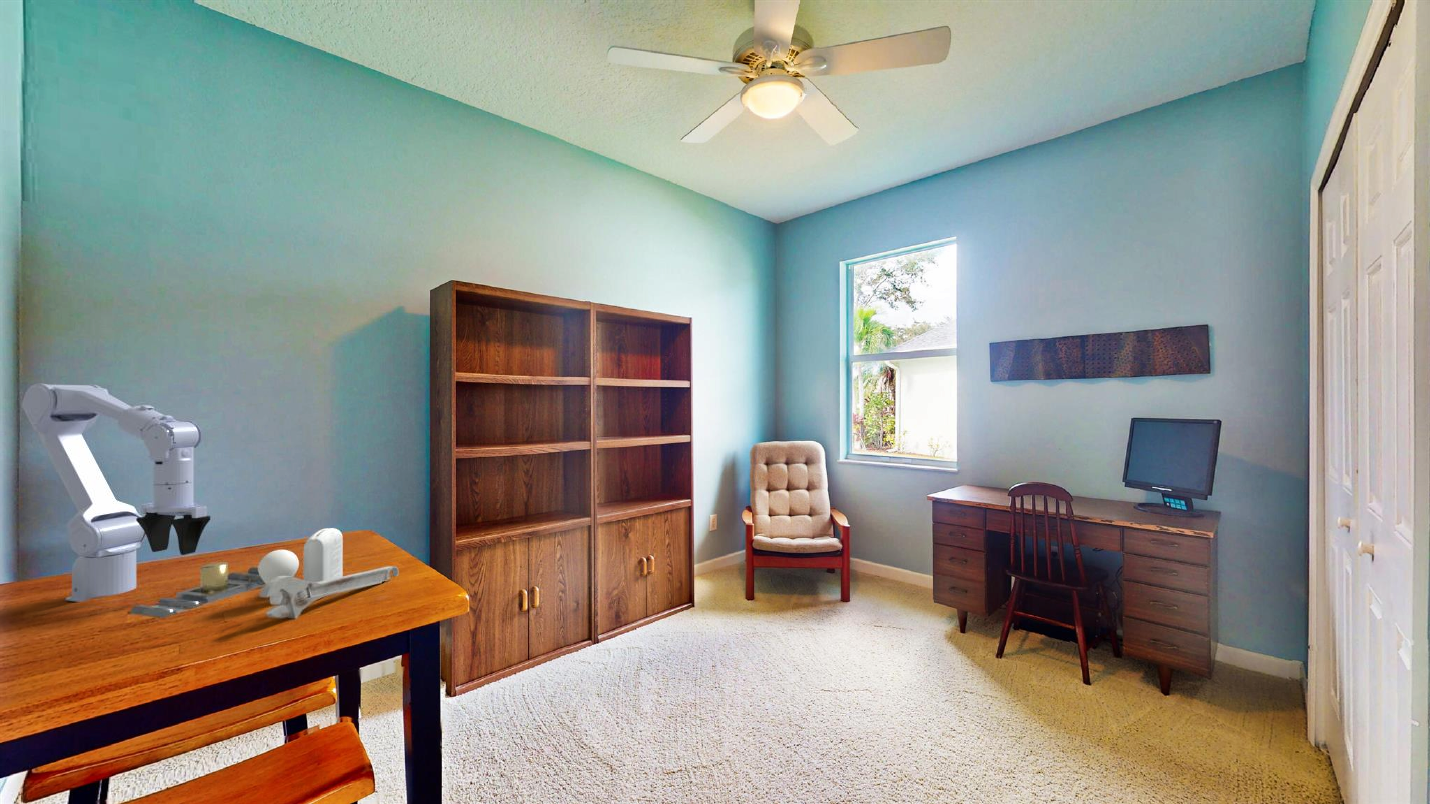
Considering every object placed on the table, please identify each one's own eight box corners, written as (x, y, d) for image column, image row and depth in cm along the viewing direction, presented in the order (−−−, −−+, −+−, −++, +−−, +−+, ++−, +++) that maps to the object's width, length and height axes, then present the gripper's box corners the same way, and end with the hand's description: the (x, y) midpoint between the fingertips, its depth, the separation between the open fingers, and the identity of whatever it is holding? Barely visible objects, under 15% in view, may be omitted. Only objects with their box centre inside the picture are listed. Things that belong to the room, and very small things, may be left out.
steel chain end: (128, 619, 101) (128, 607, 101) (221, 591, 116) (221, 581, 116) (162, 624, 99) (162, 612, 99) (253, 595, 114) (253, 584, 114)
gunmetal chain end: (175, 605, 108) (175, 588, 108) (258, 580, 123) (257, 565, 123) (208, 609, 106) (208, 592, 106) (288, 584, 121) (288, 568, 121)
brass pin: (195, 603, 109) (195, 567, 109) (219, 596, 113) (219, 561, 113) (209, 605, 108) (209, 569, 108) (232, 598, 112) (232, 563, 112)
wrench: (397, 591, 125) (263, 628, 96) (390, 590, 126) (254, 627, 96) (400, 554, 126) (268, 580, 97) (393, 553, 126) (260, 579, 97)
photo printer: (323, 581, 122) (323, 524, 122) (345, 580, 123) (345, 523, 123) (299, 597, 112) (299, 535, 112) (323, 596, 113) (324, 534, 113)
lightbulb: (255, 608, 107) (255, 550, 107) (294, 600, 111) (295, 544, 111) (261, 617, 102) (261, 556, 102) (302, 608, 107) (302, 550, 107)
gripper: (121, 484, 109) (121, 554, 109) (176, 487, 105) (176, 560, 105) (165, 479, 115) (165, 545, 115) (218, 482, 112) (218, 550, 112)
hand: (173, 552), depth 111 cm, fingers open, 7 cm apart
